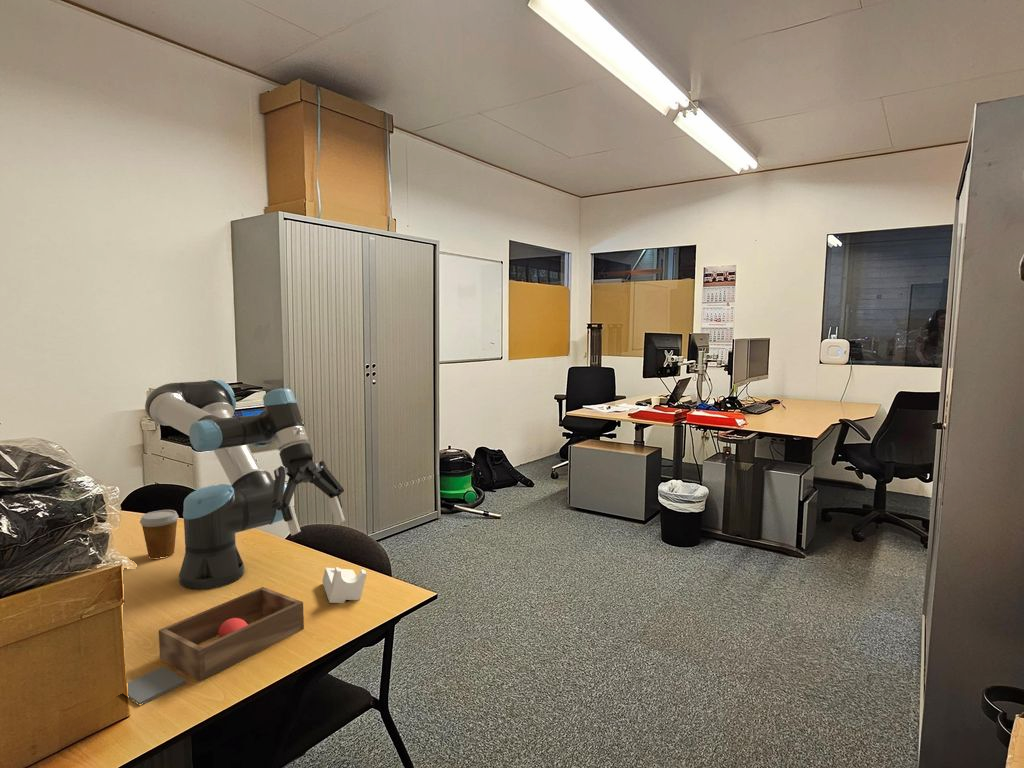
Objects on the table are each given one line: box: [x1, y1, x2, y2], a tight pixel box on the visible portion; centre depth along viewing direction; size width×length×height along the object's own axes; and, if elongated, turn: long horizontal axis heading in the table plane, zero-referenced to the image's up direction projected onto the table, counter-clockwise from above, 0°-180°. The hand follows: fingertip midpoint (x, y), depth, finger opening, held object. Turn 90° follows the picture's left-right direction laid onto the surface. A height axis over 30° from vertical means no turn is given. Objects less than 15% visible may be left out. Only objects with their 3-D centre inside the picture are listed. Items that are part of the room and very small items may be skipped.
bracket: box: [322, 566, 367, 604], centre depth 146 cm, size 13×7×8 cm, turn 25°
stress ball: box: [218, 618, 249, 638], centre depth 122 cm, size 5×9×6 cm, turn 34°
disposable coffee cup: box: [139, 509, 180, 559], centre depth 169 cm, size 10×10×12 cm
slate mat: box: [127, 666, 187, 705], centre depth 107 cm, size 8×8×1 cm
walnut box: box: [158, 586, 305, 682], centre depth 122 cm, size 14×23×6 cm, turn 148°
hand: (319, 527), depth 144 cm, fingers open, 13 cm apart
